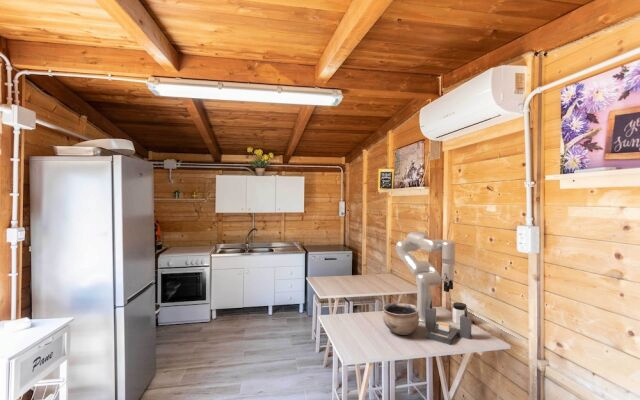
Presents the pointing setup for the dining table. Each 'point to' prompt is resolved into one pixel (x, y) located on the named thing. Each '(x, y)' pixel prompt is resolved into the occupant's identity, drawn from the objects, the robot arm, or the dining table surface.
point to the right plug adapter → (465, 325)
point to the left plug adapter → (430, 316)
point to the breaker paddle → (444, 326)
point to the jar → (457, 311)
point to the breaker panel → (443, 334)
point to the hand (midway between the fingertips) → (448, 290)
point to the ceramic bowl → (401, 317)
